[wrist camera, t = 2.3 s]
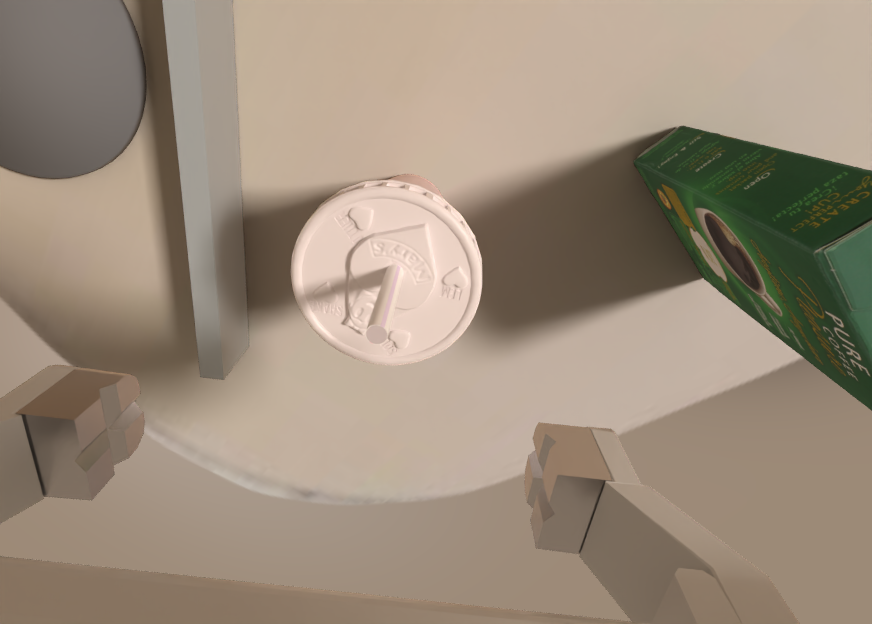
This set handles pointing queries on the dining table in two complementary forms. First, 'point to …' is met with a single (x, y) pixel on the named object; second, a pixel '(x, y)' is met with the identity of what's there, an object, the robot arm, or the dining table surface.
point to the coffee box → (776, 241)
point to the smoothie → (387, 271)
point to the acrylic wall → (210, 175)
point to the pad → (68, 85)
